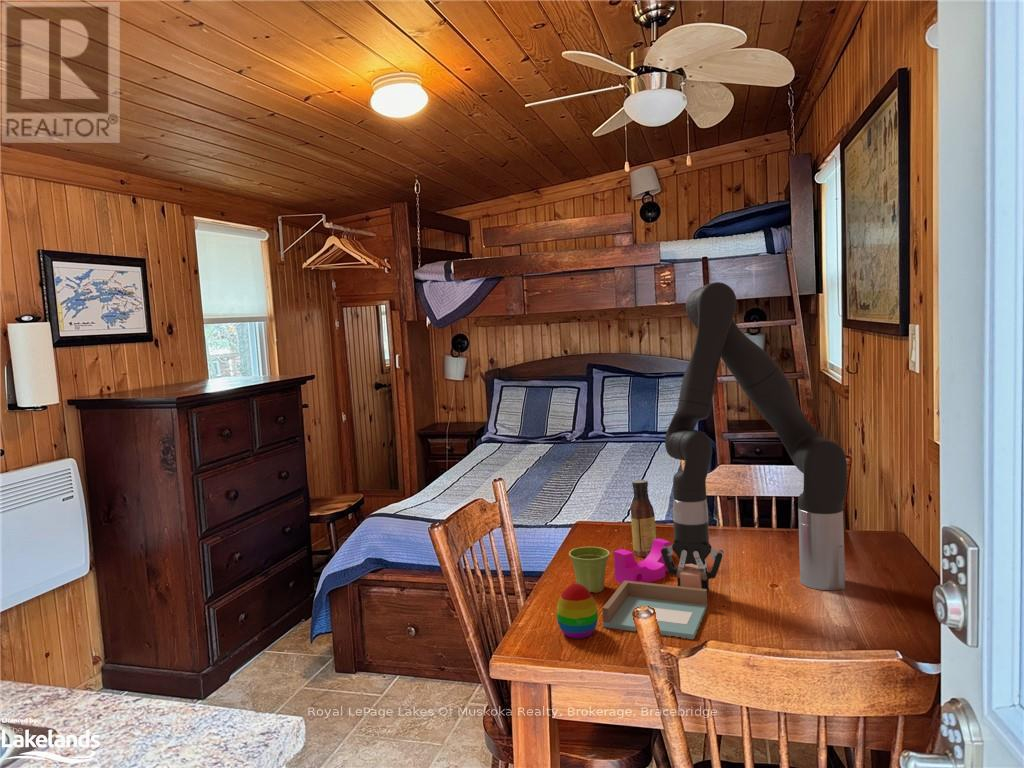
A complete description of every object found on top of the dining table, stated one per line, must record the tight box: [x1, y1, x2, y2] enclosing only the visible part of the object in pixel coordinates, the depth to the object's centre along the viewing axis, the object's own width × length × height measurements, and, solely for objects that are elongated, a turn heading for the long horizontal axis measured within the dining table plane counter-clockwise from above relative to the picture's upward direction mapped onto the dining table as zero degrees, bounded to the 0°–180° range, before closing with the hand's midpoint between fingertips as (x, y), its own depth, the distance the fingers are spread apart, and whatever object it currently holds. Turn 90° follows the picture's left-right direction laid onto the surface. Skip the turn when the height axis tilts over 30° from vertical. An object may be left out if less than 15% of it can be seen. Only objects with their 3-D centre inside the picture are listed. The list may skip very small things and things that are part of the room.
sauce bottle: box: [630, 479, 657, 558], centre depth 180 cm, size 6×6×20 cm
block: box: [680, 564, 702, 589], centre depth 151 cm, size 4×8×6 cm, turn 155°
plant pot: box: [568, 546, 610, 594], centre depth 158 cm, size 9×9×9 cm
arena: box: [601, 580, 708, 640], centre depth 141 cm, size 18×16×4 cm
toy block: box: [613, 537, 671, 584], centre depth 164 cm, size 15×6×8 cm, turn 123°
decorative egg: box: [556, 582, 599, 640], centre depth 135 cm, size 8×8×10 cm
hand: (693, 593), depth 152 cm, fingers closed on block, 4 cm apart
